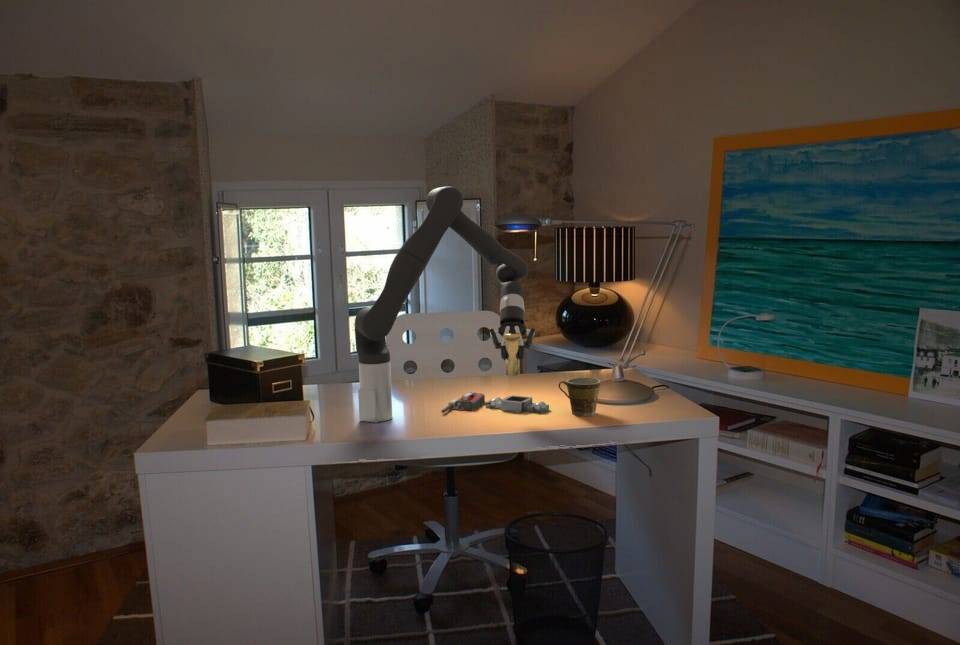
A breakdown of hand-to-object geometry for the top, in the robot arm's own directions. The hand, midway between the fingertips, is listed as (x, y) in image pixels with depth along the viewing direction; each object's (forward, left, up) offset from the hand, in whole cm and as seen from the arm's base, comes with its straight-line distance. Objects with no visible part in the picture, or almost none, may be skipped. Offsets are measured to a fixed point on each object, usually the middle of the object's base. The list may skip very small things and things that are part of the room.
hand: (512, 358), depth 212 cm
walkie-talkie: (+6, +20, -19) cm, 28 cm away
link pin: (+2, +1, -5) cm, 5 cm away
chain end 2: (+11, +1, -18) cm, 21 cm away
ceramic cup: (+13, -15, -18) cm, 27 cm away
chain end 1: (+11, +11, -18) cm, 24 cm away
